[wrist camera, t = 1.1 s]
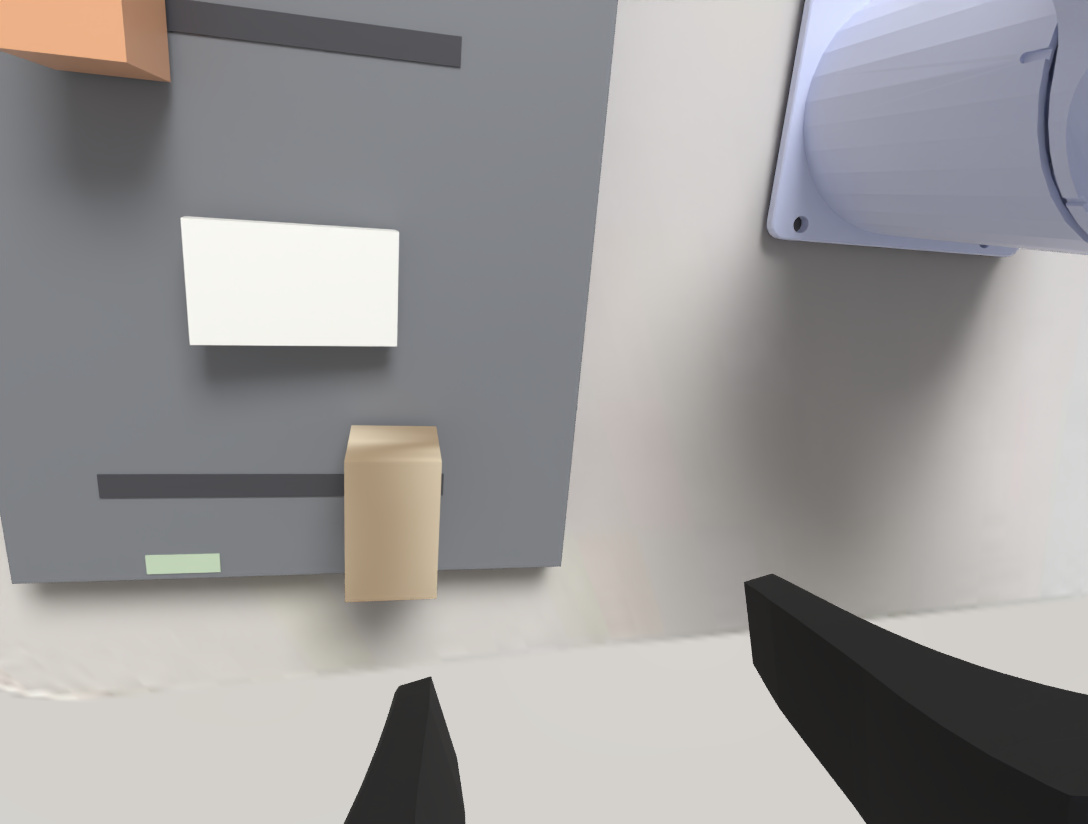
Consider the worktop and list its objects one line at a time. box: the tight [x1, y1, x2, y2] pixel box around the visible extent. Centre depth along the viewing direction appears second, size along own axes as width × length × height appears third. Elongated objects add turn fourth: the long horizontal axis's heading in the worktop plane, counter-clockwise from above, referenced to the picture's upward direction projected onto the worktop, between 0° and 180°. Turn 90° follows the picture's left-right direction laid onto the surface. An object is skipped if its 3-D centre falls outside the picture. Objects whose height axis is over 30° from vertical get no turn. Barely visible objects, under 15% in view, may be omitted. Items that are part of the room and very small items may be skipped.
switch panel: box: [0, 0, 618, 584], centre depth 19 cm, size 16×19×2 cm
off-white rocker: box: [180, 216, 399, 346], centre depth 17 cm, size 5×3×1 cm, turn 85°
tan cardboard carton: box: [344, 425, 442, 602], centre depth 19 cm, size 2×4×3 cm, turn 175°
